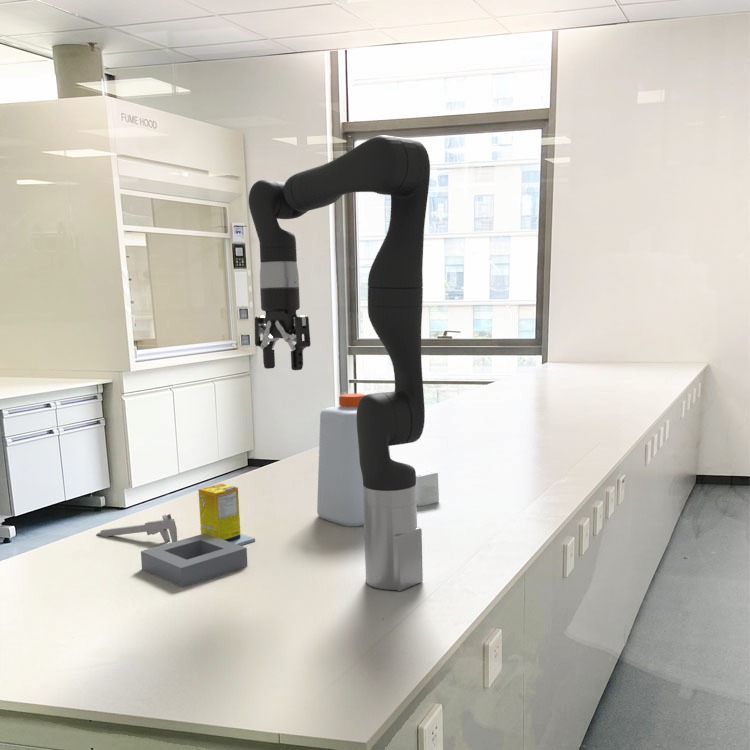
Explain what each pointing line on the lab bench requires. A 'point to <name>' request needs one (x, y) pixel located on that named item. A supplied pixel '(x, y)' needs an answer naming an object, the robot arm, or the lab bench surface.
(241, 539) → the pad
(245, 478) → the lab bench surface
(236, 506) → the supplement box
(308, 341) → the robot arm
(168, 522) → the caliper
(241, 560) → the socket block
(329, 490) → the plastic bottle
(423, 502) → the skincare box
